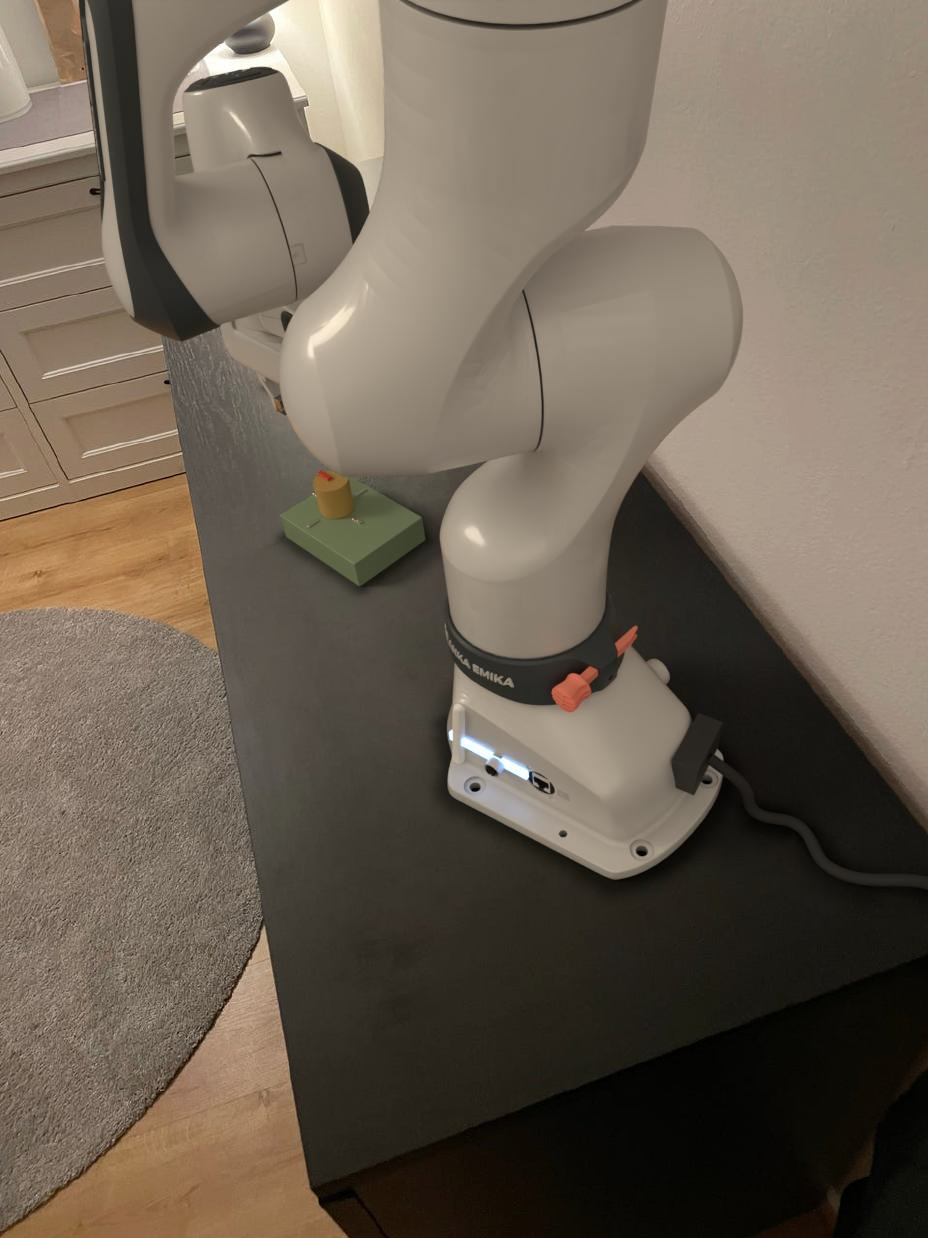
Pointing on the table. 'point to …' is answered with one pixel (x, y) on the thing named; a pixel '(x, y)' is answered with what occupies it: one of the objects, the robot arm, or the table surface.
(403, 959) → the table surface
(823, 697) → the table surface
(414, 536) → the dial panel
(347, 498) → the tap knob
